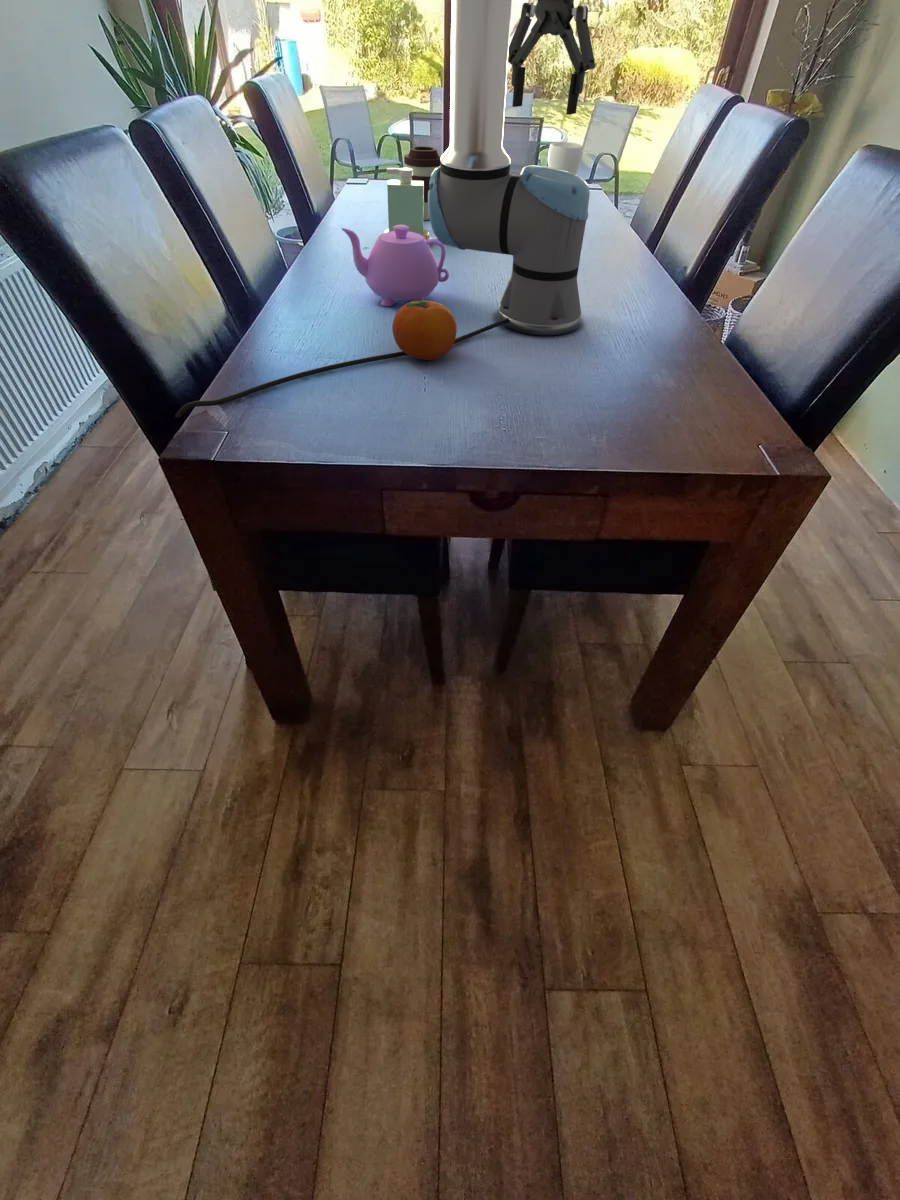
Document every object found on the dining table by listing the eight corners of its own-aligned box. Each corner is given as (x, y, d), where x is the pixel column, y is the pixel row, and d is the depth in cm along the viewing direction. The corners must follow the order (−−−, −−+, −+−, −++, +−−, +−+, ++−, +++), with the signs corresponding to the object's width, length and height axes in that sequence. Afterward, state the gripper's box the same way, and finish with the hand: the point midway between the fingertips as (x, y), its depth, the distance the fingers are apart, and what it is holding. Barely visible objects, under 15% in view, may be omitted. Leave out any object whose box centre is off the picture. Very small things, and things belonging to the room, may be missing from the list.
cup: (547, 221, 169) (556, 148, 158) (536, 212, 175) (544, 141, 164) (578, 220, 170) (589, 148, 159) (566, 211, 177) (576, 141, 165)
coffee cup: (449, 216, 169) (451, 148, 158) (428, 224, 163) (429, 154, 152) (418, 210, 172) (418, 143, 162) (397, 217, 166) (396, 148, 156)
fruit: (468, 356, 105) (471, 307, 100) (422, 374, 100) (423, 322, 94) (425, 337, 110) (425, 288, 105) (379, 352, 105) (377, 302, 100)
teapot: (346, 311, 118) (340, 237, 109) (346, 285, 128) (341, 215, 119) (452, 310, 120) (454, 237, 111) (444, 285, 130) (446, 216, 121)
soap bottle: (428, 243, 145) (428, 174, 136) (383, 242, 145) (380, 173, 136) (428, 230, 153) (429, 165, 144) (385, 229, 153) (383, 163, 143)
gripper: (626, -28, 116) (603, 115, 131) (515, -32, 127) (505, 101, 142) (607, -30, 112) (585, 118, 127) (494, -33, 123) (486, 104, 138)
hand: (543, 110), depth 134 cm, fingers open, 13 cm apart
